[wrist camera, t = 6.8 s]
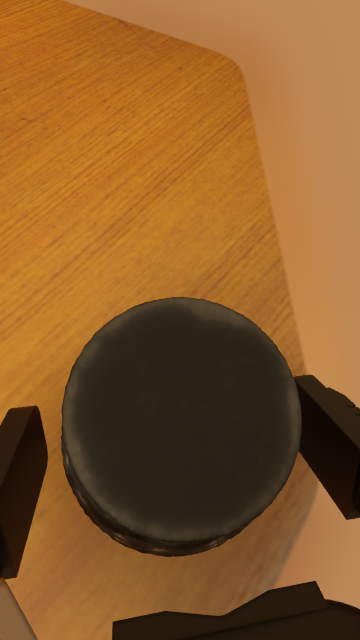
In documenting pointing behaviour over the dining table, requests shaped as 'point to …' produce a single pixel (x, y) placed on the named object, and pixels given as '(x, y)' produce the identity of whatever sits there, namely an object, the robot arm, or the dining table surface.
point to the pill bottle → (179, 426)
